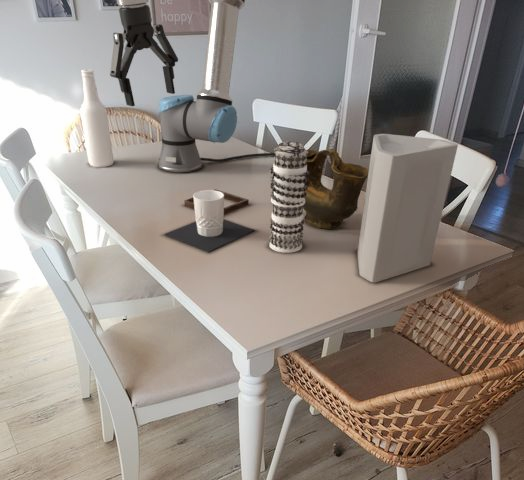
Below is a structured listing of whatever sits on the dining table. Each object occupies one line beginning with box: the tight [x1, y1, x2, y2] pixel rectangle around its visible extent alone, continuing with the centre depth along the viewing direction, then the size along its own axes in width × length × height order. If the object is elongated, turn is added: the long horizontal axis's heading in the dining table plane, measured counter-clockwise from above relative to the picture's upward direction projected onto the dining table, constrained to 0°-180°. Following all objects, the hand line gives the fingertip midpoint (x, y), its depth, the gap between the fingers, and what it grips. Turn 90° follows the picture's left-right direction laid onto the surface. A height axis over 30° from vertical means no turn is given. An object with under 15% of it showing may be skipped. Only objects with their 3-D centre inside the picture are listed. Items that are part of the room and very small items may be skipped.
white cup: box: [192, 189, 225, 237], centre depth 135 cm, size 8×8×10 cm
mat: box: [164, 218, 255, 253], centre depth 138 cm, size 18×16×1 cm
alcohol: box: [79, 68, 115, 168], centre depth 177 cm, size 9×9×30 cm
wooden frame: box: [183, 189, 250, 215], centre depth 154 cm, size 14×14×2 cm
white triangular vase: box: [356, 133, 459, 284], centre depth 118 cm, size 19×15×28 cm
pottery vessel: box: [303, 148, 369, 230], centre depth 140 cm, size 25×11×20 cm, turn 40°
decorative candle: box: [268, 141, 309, 254], centre depth 125 cm, size 9×9×25 cm
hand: (151, 99), depth 139 cm, fingers open, 13 cm apart
